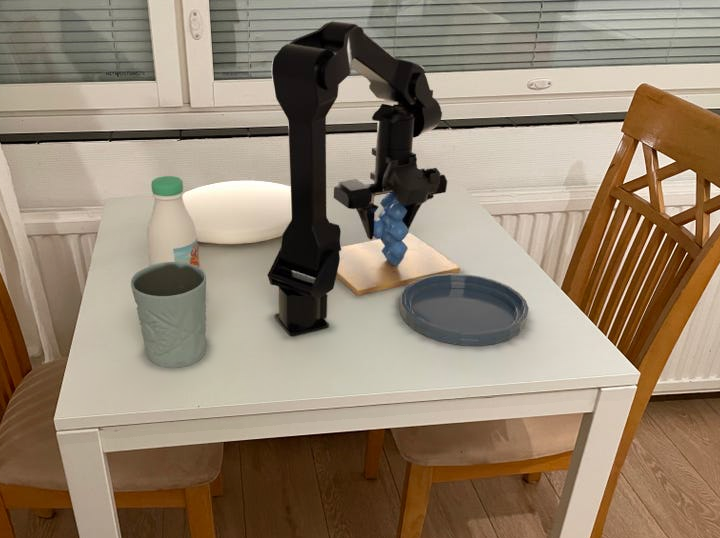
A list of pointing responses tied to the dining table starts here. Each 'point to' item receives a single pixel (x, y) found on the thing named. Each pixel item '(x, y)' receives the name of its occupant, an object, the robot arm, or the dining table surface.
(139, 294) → the green plant pot
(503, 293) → the round blue tray
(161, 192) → the milk bottle
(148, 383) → the dining table surface
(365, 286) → the bamboo board
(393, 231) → the grapes
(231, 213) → the plate
